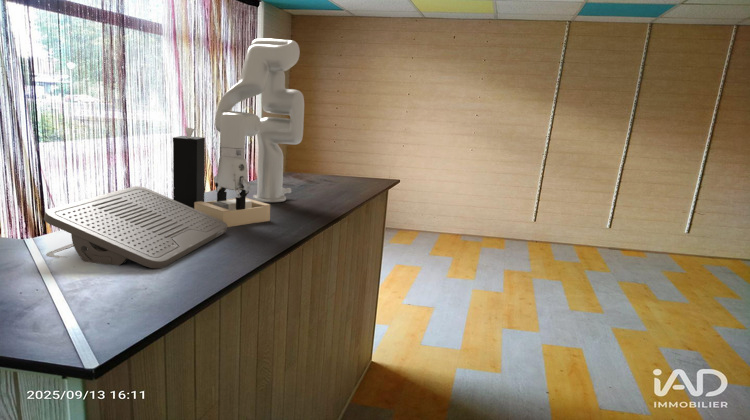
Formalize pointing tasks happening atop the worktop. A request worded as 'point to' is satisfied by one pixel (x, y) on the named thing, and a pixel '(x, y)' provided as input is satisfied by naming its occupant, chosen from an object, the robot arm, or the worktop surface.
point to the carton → (236, 212)
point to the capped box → (232, 204)
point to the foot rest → (133, 228)
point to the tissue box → (188, 168)
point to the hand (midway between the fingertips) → (230, 206)
